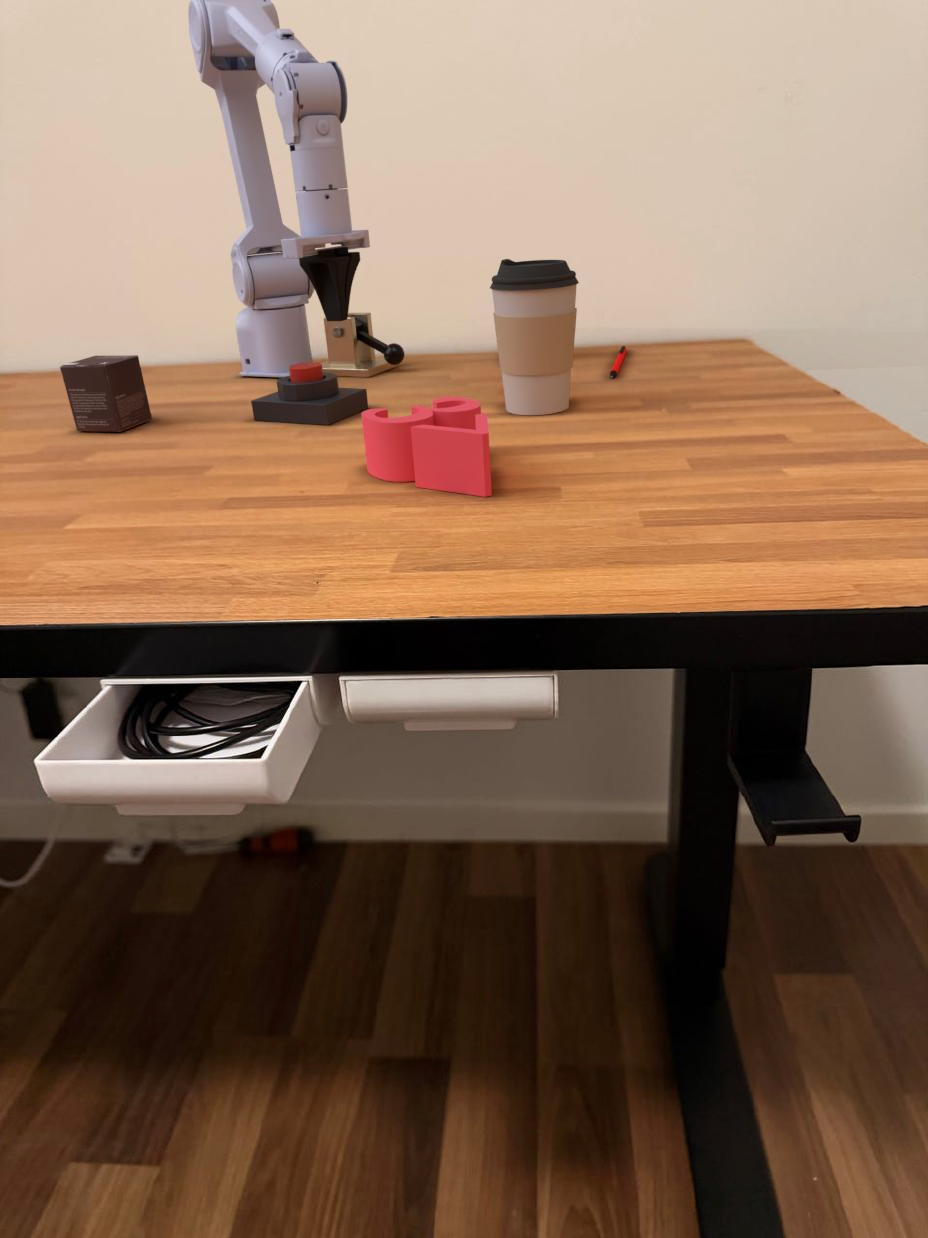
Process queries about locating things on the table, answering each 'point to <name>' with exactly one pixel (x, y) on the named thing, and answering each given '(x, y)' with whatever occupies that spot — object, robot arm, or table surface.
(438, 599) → the table surface
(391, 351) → the black lever handle
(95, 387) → the box
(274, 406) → the block
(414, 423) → the letters
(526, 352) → the coffee cup
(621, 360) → the pen
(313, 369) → the button
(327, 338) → the lever bracket
